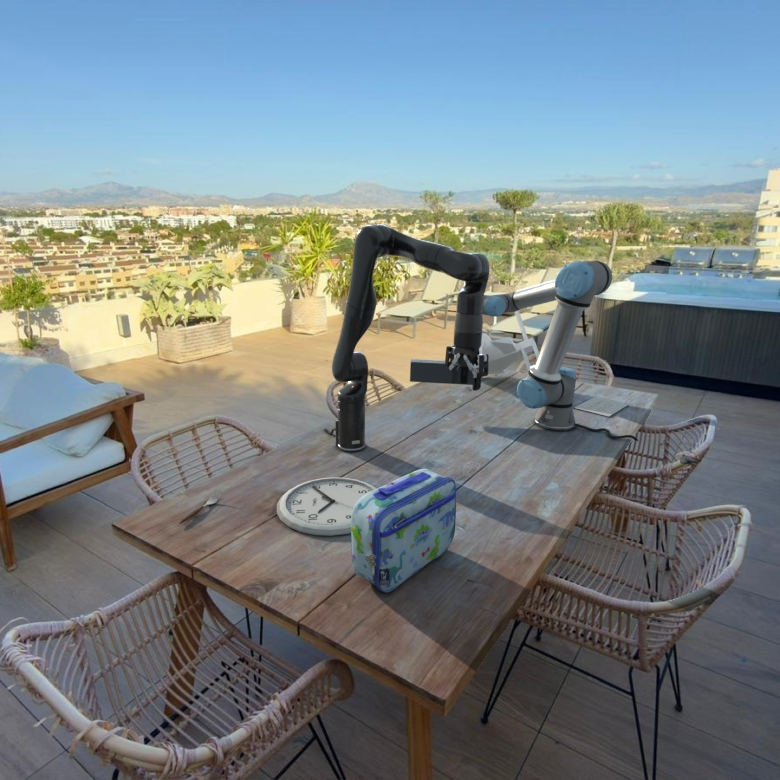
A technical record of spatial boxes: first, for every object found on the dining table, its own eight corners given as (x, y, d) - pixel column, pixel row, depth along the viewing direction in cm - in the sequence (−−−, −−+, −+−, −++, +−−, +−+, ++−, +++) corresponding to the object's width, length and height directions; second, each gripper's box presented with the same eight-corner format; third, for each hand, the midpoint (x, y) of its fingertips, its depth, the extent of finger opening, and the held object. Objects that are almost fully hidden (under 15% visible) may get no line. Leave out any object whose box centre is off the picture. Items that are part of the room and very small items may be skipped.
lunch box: (379, 605, 105) (380, 513, 99) (344, 580, 112) (343, 493, 106) (459, 552, 123) (464, 471, 116) (425, 533, 130) (428, 456, 124)
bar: (472, 381, 221) (473, 362, 218) (472, 385, 217) (474, 365, 214) (410, 378, 224) (411, 359, 221) (409, 381, 219) (410, 361, 217)
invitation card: (608, 416, 214) (573, 407, 224) (608, 416, 214) (573, 408, 224) (628, 404, 229) (594, 396, 238) (628, 405, 229) (594, 397, 238)
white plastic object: (484, 418, 267) (463, 395, 242) (465, 346, 289) (445, 318, 264) (554, 394, 255) (540, 367, 230) (529, 321, 277) (514, 289, 252)
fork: (175, 524, 132) (174, 517, 132) (215, 495, 146) (215, 489, 146) (183, 526, 131) (182, 519, 131) (223, 497, 146) (222, 490, 145)
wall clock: (392, 527, 129) (268, 531, 127) (391, 533, 130) (269, 537, 127) (383, 473, 158) (282, 475, 155) (383, 478, 158) (282, 480, 156)
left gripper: (440, 326, 145) (437, 382, 150) (478, 335, 134) (474, 395, 139) (459, 323, 149) (456, 378, 154) (497, 332, 139) (493, 390, 143)
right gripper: (457, 322, 221) (454, 375, 228) (458, 330, 204) (454, 387, 211) (475, 322, 220) (471, 376, 227) (477, 330, 203) (473, 388, 210)
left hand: (464, 386), depth 147 cm, fingers open, 8 cm apart
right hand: (463, 381), depth 219 cm, fingers closed on bar, 5 cm apart
